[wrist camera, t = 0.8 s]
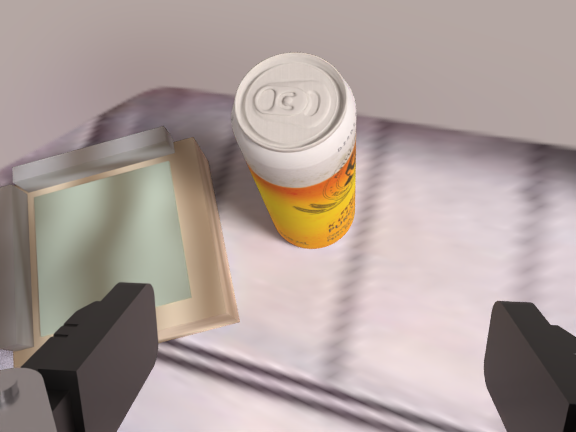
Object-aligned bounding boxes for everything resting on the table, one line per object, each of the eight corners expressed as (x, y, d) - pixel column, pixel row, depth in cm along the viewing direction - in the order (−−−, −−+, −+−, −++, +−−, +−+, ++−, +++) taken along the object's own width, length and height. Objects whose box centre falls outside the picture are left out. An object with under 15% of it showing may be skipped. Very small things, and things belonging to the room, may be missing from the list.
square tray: (207, 158, 40) (184, 120, 34) (239, 322, 35) (219, 307, 29) (40, 203, 40) (-9, 172, 35) (49, 371, 35) (-6, 366, 30)
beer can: (349, 256, 35) (348, 163, 21) (266, 246, 36) (213, 151, 23) (359, 179, 37) (363, 48, 23) (280, 172, 38) (239, 42, 24)
